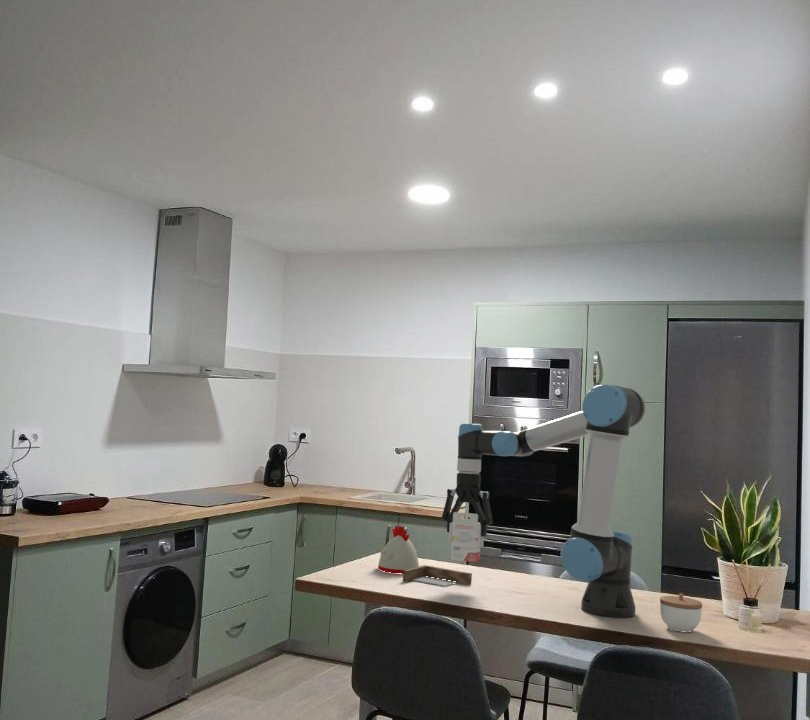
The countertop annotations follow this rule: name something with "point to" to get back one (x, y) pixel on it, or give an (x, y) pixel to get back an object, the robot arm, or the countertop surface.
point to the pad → (434, 581)
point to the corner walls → (436, 574)
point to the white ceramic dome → (398, 553)
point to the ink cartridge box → (465, 538)
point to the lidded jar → (680, 612)
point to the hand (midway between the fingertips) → (465, 545)
